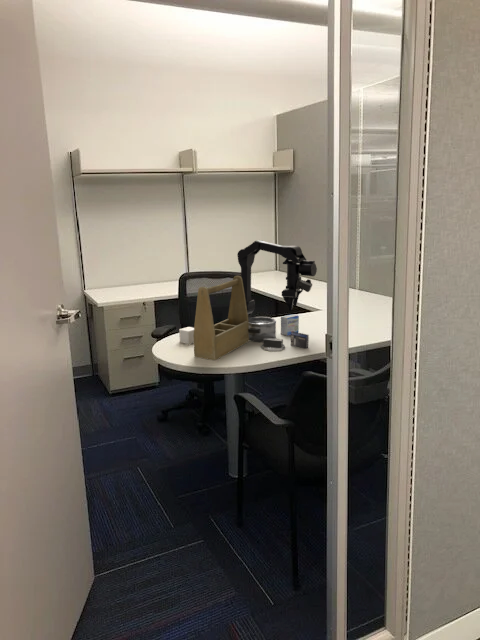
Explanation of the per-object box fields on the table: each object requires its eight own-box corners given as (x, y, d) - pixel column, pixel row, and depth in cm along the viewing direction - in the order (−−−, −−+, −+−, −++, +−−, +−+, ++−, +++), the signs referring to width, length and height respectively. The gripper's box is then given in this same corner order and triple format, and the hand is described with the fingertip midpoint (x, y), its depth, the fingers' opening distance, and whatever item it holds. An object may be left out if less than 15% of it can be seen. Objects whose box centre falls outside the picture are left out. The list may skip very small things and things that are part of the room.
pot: (239, 341, 231) (239, 324, 229) (253, 331, 248) (252, 314, 246) (268, 344, 226) (268, 326, 224) (280, 333, 243) (280, 316, 241)
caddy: (215, 360, 206) (213, 287, 198) (193, 357, 211) (190, 285, 203) (249, 342, 230) (248, 276, 223) (229, 339, 235) (227, 274, 228)
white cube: (188, 344, 228) (188, 331, 227) (179, 342, 232) (179, 329, 231) (198, 341, 233) (198, 328, 231) (189, 339, 236) (188, 326, 235)
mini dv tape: (290, 345, 225) (290, 332, 223) (292, 344, 226) (292, 331, 224) (306, 349, 219) (306, 335, 218) (308, 348, 220) (308, 334, 219)
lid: (257, 350, 219) (257, 341, 218) (265, 343, 228) (265, 335, 227) (281, 352, 215) (281, 343, 214) (287, 346, 225) (287, 337, 224)
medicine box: (287, 336, 239) (287, 318, 237) (280, 334, 242) (280, 316, 240) (298, 332, 244) (299, 315, 242) (292, 331, 247) (292, 313, 245)
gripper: (306, 278, 218) (306, 314, 222) (314, 272, 235) (314, 305, 239) (281, 277, 222) (281, 312, 225) (291, 271, 239) (290, 303, 243)
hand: (292, 308), depth 233 cm, fingers open, 9 cm apart
